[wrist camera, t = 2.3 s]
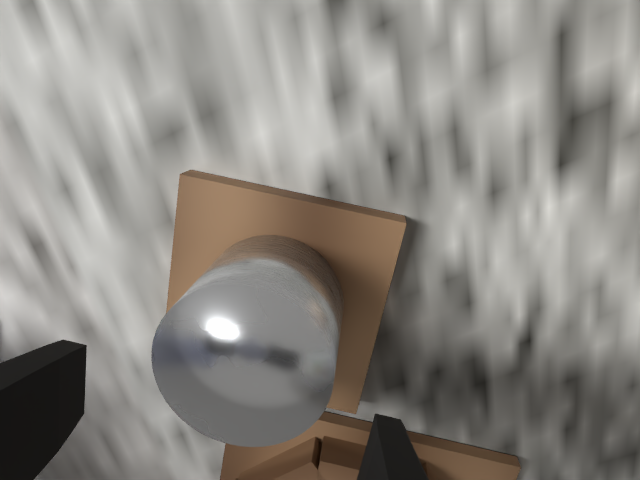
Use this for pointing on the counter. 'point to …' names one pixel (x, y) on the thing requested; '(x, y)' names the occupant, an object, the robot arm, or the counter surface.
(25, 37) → the counter surface
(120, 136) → the counter surface
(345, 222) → the walnut stand
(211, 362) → the silver metal canister
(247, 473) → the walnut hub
